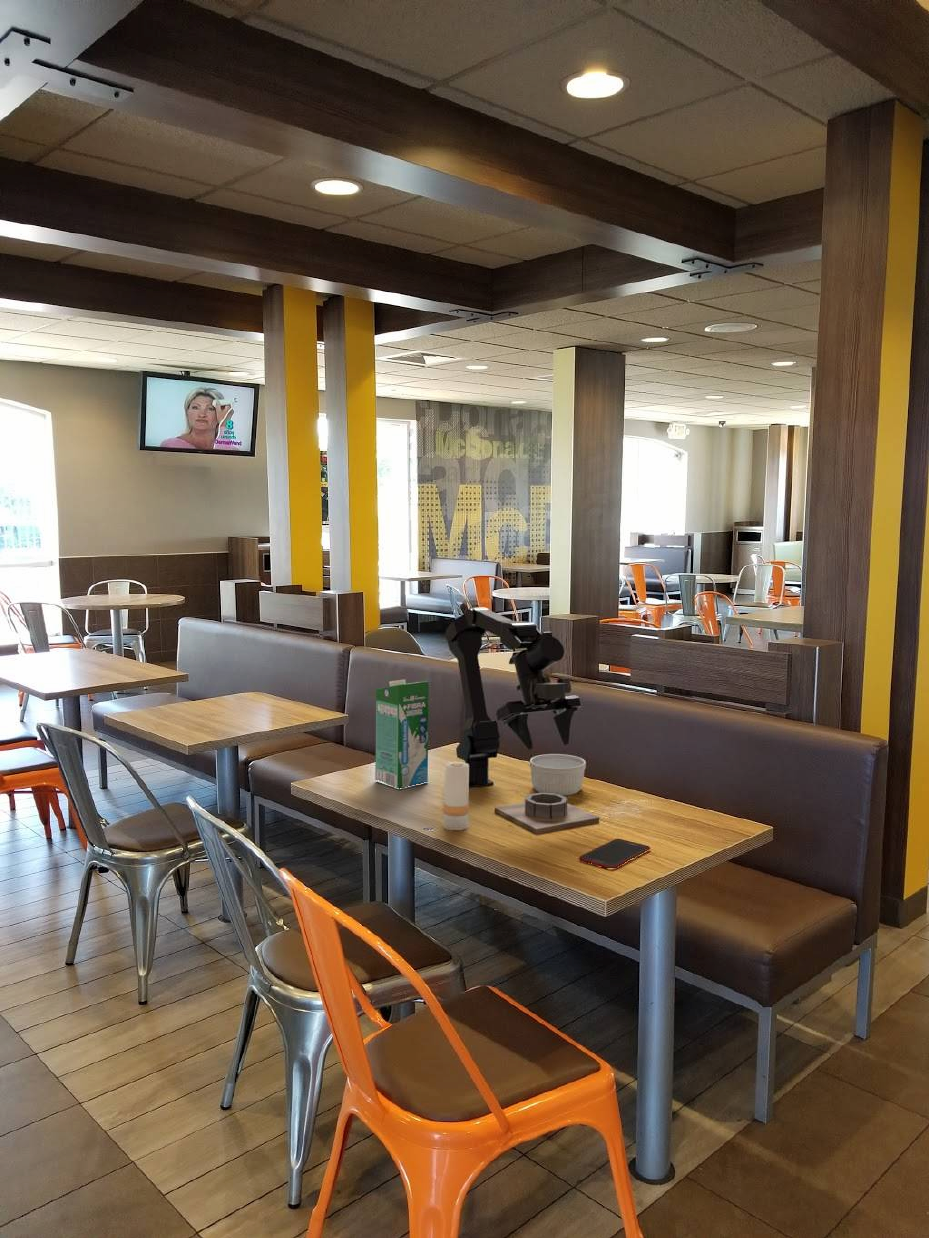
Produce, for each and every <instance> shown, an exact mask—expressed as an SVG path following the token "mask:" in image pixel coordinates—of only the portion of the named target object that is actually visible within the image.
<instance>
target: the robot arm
mask: <svg viewBox="0 0 929 1238" xmlns="http://www.w3.org/2000/svg"><path fill="white" fill-rule="evenodd" d="M487 632H489V633H490V634H492V635H494V636H496V637H498V638H499V641H500V643H501V644H502V646H504V647H505V648H507V649H508V650H520V649H521V650H520V651H516V652H514V651H513V652H512V655H511V657H510V659H509V661H508V664H509V665H514V668H515V672H516V676H517V680H518V683H519V684H518V685H517V686H516V690H517V691H518V692H521V696H522V699H523V701H522V700H516V701H515V700H514V701H513V700H512V701H507V702H506V703H504V704H502V705H501V706H499V707H498V708H497V709H496V718H497V720H492V718H491V717H490V716H489V715H488V709H487V705H486V698H485V692H484V686H483V680H482V675H481V669H480V661H479V655H480V651H481V649H482V647H483V637H484V636H485V635H486V633H487ZM445 639H446V641H447V645H448V650H449V651H450V653H452V655H453V656H454V657H455V658H456V660H457V662H458V669H459V675H460V676H459V677H460V681H461V688H462V694H463V701H464V705H465V713H466V721H465V722H464V723H465V724H464V727H463V729H462V740H460V742H459V744H458V745H457V747H456V748H455V750H456V757H457V758H458V759H460V760H462V761H464V763H467V764H469V787H470V788H472V787H481V786H490V785H491V786H493V785H494V781H492V780H491V779H489V773H490V772H489V771H490V770H489V768H490V767H489V766H490V765H489V764H490V763H489V762H490V759H491V758H493V759H494V758H497V757H498V753H499V749H500V744H501V738H500V737H501V735H500V732H499V725H498V723H499V722H503V725H504V726H505V725H507V726H508V727H509V729H511V730H512V731H513V732H514V734H515V735H517V737H518V738H519V740H521V742H522V743H523V744H524V746H525V747H526V749H528V750H529V751H531V750H533V749H534V747H533V741H532V737H531V732H530V729H529V725H528V720H529V719H528V718H529V714H536V713H544V712H546V713H547V712H552V713H554V715H555V716H553V720H554V723H555V726H556V728H557V731H558V734H559V736H560V739H561V741H562V743H563V745H564V746H567V745H569V742H570V731H571V730H570V729H571V722H572V717H573V716H574V714H575V713H577V712H578V710H579V709H580V708H582V707H583V706H582V702H581V698H580V697H579V696H578V695H576V694H574V695H566V694H570V693H571V692H572V684H571V682H570V679H569V677H560V678H557V679H556V680H557V681H556V682H551V678H550V677H549V676H545V671H544V670H547V669H549V668H550V667H552V665H555V664H556V663H557V662H559V661H560V660H562V659H563V657H564V655H565V648H564V645H563V644H562V643H561V641H560V640H559V639H557V638H556V637H555V636H553V633H552V631H543V632H541V631H540V629H538V627H537V625H536V623H534V622H532V621H524V620H523V621H521V620H512V619H510V618H507V617H506V616H503V615H502V614H498V613H496V612H494V611H492V610H490V609H489V608H488V607H485V606H484V607H483V606H480V607H478V606H476V607H470V608H468V609H467V610H466V611H465V612H464V614H462V615H460V616H458V617H456V618H455V619H453V620H452V621H451V622H450V623H449V626H447V628H446V629H445ZM522 649H523V650H522Z"/></svg>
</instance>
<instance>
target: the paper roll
mask: <svg viewBox="0 0 929 1238" xmlns="http://www.w3.org/2000/svg"><path fill="white" fill-rule="evenodd" d="M443 783H444V785H443V787H444V788H443V792H444V793H443V828H444V829H446V830H448V829H450V830H449V831H453V830H460V831H464V830H463V829H465V830H467V829H468V828H469V808H470V807H469V791H470V790H469V764H467V763H465V762H463V761H462V762H461V761H451V762H446V763H444V780H443Z"/></svg>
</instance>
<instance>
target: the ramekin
mask: <svg viewBox="0 0 929 1238" xmlns="http://www.w3.org/2000/svg"><path fill="white" fill-rule="evenodd" d="M529 767H530V776H531V784H532V787H533V788H534V789H535V791H536V792H537V793H554V794H559V795H562V796H571V795H575V794H577V793H579V792H580V790H582V787H583V782H584V777H585V770H586V768H587V762H586V760H585V759H584V758H582V757H579V756H576V755H571V754H564V753H563V754H562V753H546V754H539V755H536V756H533V757H531V758H530V760H529Z"/></svg>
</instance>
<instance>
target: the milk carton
mask: <svg viewBox="0 0 929 1238" xmlns="http://www.w3.org/2000/svg"><path fill="white" fill-rule="evenodd" d="M429 682H430V681H429V680H425V681H418V682H410V683H406V679H405V678H404V679H399V680H398V679H397V680H391V681H389V683H388V684H389V686H385V687H380V688H375V763H374V764H375V769H374V771H375V773H374V774H375V775H374V776H375V780H379V781H382V782H384V783H386V784H388V785H391V786H393V787H396V788H399V789H400V788H405V787H408V786H412V785H416V784H421V783H424V782H428V783H429V780H428V778H429V777H428V775H429V774H428V773H429V767H428V766H429V699H430V698H429V696H430V693H429V688H430V687H429V686H430V685H429ZM375 780H374V781H375ZM405 789H406V788H405Z"/></svg>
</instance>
